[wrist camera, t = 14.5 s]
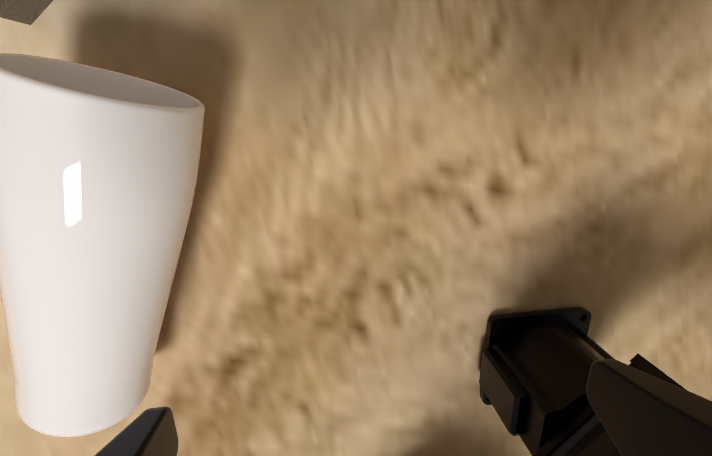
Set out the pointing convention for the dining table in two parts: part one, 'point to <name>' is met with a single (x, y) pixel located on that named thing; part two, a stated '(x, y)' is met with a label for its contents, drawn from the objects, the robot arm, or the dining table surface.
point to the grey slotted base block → (22, 9)
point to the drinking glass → (89, 233)
